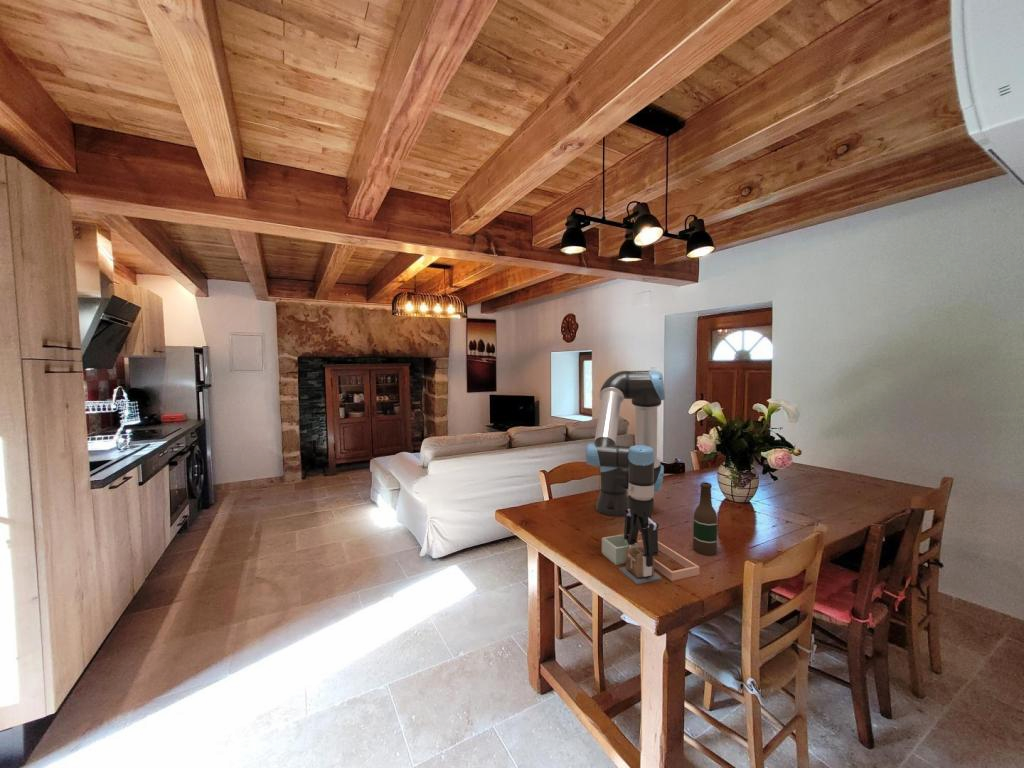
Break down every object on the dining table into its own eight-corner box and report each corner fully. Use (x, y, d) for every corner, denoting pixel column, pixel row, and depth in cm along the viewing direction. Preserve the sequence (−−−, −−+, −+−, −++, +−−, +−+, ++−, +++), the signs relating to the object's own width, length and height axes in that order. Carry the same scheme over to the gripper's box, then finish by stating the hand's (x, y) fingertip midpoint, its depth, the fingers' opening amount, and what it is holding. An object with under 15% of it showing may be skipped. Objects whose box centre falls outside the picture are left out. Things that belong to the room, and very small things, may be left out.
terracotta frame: (628, 549, 136) (628, 542, 136) (652, 544, 139) (652, 537, 139) (671, 581, 116) (672, 572, 116) (699, 574, 119) (699, 566, 119)
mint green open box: (601, 553, 133) (601, 537, 133) (622, 549, 136) (622, 534, 136) (616, 565, 125) (616, 548, 125) (638, 560, 128) (638, 544, 128)
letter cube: (625, 567, 121) (625, 548, 121) (641, 565, 123) (642, 546, 123) (637, 577, 115) (637, 557, 115) (654, 574, 117) (654, 554, 117)
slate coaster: (619, 569, 122) (619, 567, 122) (642, 565, 125) (642, 563, 125) (637, 584, 114) (637, 582, 114) (661, 579, 117) (661, 577, 117)
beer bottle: (710, 558, 129) (711, 488, 128) (688, 549, 136) (689, 482, 135) (721, 551, 134) (722, 483, 133) (699, 543, 140) (700, 478, 139)
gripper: (612, 488, 126) (612, 557, 127) (651, 508, 108) (650, 588, 109) (631, 486, 129) (631, 554, 129) (672, 505, 111) (671, 583, 111)
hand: (640, 569), depth 119 cm, fingers closed on letter cube, 6 cm apart
